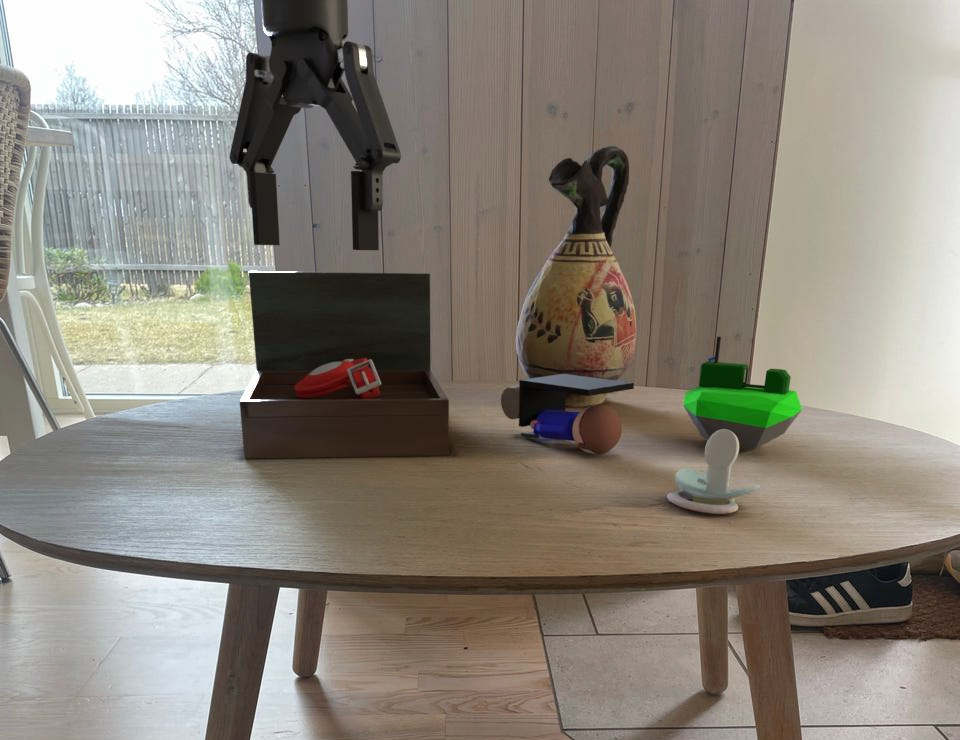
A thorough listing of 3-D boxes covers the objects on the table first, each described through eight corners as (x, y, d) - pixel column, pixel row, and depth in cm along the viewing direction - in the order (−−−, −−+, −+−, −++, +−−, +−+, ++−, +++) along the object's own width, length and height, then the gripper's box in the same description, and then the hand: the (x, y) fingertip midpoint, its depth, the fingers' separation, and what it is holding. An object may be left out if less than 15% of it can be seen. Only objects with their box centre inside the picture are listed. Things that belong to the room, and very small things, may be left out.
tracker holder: (273, 386, 97) (322, 353, 104) (289, 426, 99) (337, 390, 107) (365, 368, 91) (411, 334, 98) (381, 411, 93) (425, 374, 101)
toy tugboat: (666, 451, 96) (677, 341, 91) (697, 431, 105) (708, 330, 101) (784, 466, 91) (802, 349, 86) (805, 444, 100) (823, 338, 96)
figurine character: (497, 448, 102) (588, 460, 90) (494, 377, 100) (587, 380, 88) (544, 441, 106) (637, 452, 94) (542, 373, 103) (638, 375, 92)
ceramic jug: (577, 416, 112) (593, 137, 100) (490, 398, 123) (495, 143, 110) (662, 401, 123) (687, 147, 110) (576, 386, 133) (590, 152, 121)
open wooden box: (448, 455, 93) (449, 285, 86) (244, 458, 90) (228, 283, 83) (430, 415, 112) (429, 273, 105) (261, 416, 109) (249, 271, 102)
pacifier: (722, 524, 73) (765, 509, 77) (730, 446, 70) (775, 433, 74) (650, 504, 78) (694, 490, 82) (655, 430, 75) (701, 419, 79)
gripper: (441, -23, 77) (438, 252, 86) (243, 8, 90) (258, 243, 99) (380, -45, 72) (384, 252, 80) (179, -8, 85) (200, 242, 94)
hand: (314, 248), depth 90 cm, fingers open, 13 cm apart
